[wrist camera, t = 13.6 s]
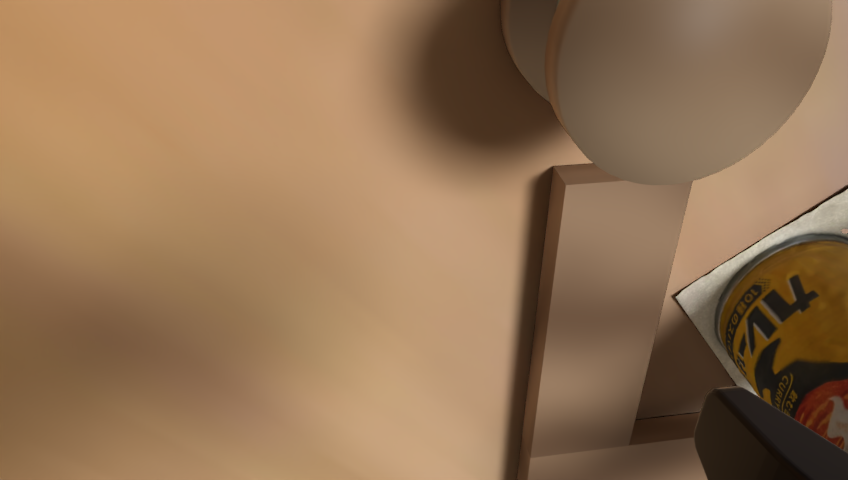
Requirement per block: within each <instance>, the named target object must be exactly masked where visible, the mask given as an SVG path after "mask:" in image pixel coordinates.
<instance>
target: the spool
mask: <svg viewBox="0 0 848 480" xmlns="http://www.w3.org/2000/svg"><path fill="white" fill-rule="evenodd" d="M500 19H501V27H502V33H503V37H504V41H505V44H506V47H507V49H508V52H509V54H510V56H511V58H512V60H513V62H514V63H515V65H516V67H517V68H518V70H519V71H520V72H521V73H522V75H523V76H524V77H525V79H526V80H527V81H528V82H529V84H530V85H531V86H532V87H533V88H534V90H535V91H536V92H537V93H538V94H540V95H541V96H542V97H543V98H544V99H545V100H547V101H548V102H550V103H551V105H552V107H553V110H554V112H555V115H556V117H557V118H558V120H559V122H560V123H561V125H562V127H563V128H564V129H565V131H566V132H567V133H568V135H569V136H570V137H571V139H572V140H573V141H574V142H575V144H576V145H577V146H578V148H579V149H580V150H581V151H582V152H583V153H584V155H585V156H586V157H587V158H588V159H589V160H590V161H592V162H593V163H594V164H595V165H596V166H597V167H599V168H601V169H602V170H604V171H605V172H607V173H609V174H610V175H613V176H615V177H618V178H620V179H622V180H626V181H630V182H634V183H637V184H646V185H672V184H680V183H686V182H690V181H694V180H698V179H701V178H704V177H707V176H709V175H712V174H715V173H717V172H719V171H721V170H723V169H725V168H728V167H730V166H732V165H733V164H735V163H737V162H738V161H740V160H742V159H743V158H745V157H746V156H748V155H749V154H751V153H752V152H753V151H755V150H756V149H757V148H759V147H760V146H761V145H763V144H764V143H765V142H766V141H767V140H768V139H769V138H770V137H771V136H773V135H774V134H775V133H776V132H777V131H778V130H779V129H780V127H781V126H782V125H783V124H784V123H785V122H786V121H787V120H788V119H789V117H790V116H791V115H792V114H793V112H794V111H795V110H796V108H797V107H798V106H799V105H800V103H801V101H802V100H803V98H804V97H805V95H806V94H807V92H808V90H809V89H810V87H811V85H812V83H813V81H814V79H815V77H816V75H817V73H818V71H819V68H820V66H821V63H822V60H823V58H824V55H825V52H826V48H827V44H828V40H829V36H830V29H831V22H832V0H501V1H500Z"/></svg>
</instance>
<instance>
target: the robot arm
mask: <svg viewBox="0 0 848 480" xmlns="http://www.w3.org/2000/svg"><path fill="white" fill-rule="evenodd" d="M694 444H695V448H696V451H697V454H698V456H699V459H700V462H701V464H702V467H703V469H704V472H705V474H706V477H707V480H848V453H847V452H846V451H844V450H843V449H841V448H839V447H838V446H836V445H835V444H833V443H831V442H830V441H828V440H827V439H825V438H823V437H822V436H820V435H819V434H817V433H815V432H814V431H812V430H811V429H809V428H808V427H806V426H804V425H803V424H801V423H800V422H798V421H796V420H795V419H793V418H792V417H790V416H788V415H787V414H785V413H784V412H782V411H780V410H779V409H777V408H776V407H774V406H772V405H771V404H769V403H768V402H766V401H764V400H763V399H761V398H760V397H758V396H756V395H755V394H753V393H752V392H750V391H748V390H747V389H745V388H743V387H739V386H731V387H721V388H714V389H711V390H710V391H709V392H708V393H707V394H706V396H705V399H704V402H703V405H702V409H701V412H700V415H699V418H698V421H697V424H696V427H695V431H694Z"/></svg>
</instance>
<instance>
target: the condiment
mask: <svg viewBox="0 0 848 480" xmlns="http://www.w3.org/2000/svg"><path fill="white" fill-rule="evenodd" d="M844 228H845V229H848V189H847V190H846V191H844V192H843V193H841V194H839V195H837V196H835V197H833V198H831V199H830V200H828V201H826V202H825V203H823V204H821V205H820V206H819V207H818V208H816V209H815V210H813V211H812V212H810V213H807V214H805V215H803V216H802V217H800V218H799V219H798V220H796V221H794V222H792V223H790V224H788V225H787V226H785V227H782V228H781V229H779V230H777V231H776V232H774V233H772V234H770V235H769V236H767V237H765V238H764V239H762V240H761V241H759V242H758V243H756V244H755V245H753V246H752V247H750V248H749V249H747V250H745V251H744V252H742V253H740V254H738V255H737V256H736V257H734V258H733V259H731V260H729V261H727V262H725V263H724V264H722V265H720V266H719V267H717V268H716V269H715V270H713V271H712V272H711V273H710V274H708V275H706V276H704V277H701V278H700V279H698V280H697V281H696V282H694V283H692V284H691V285H690V286H688V287H687V288H685V289H684V290H683V291H682V292H681V293H680V294H679V295H678V296H676V299H677V300H678V302H679V303H680V305H681V306H682V307H683V309H684V310H685V312H686V313H687V315H688V316H689V317H690V319H691V320H692V322H693V323H694V325H695V326H696V328H697V329H698V330H699V332H700V333H701V335H702V336H703V338H704V339H705V341H706V342H707V343H708V345H709V346H710V348H711V349H712V351H713V352H714V353H715V355H716V356H717V358H718V359H719V361H720V362H721V363H722V365H723V366H724V368H725V369H726V371H727V372H728V373H729V375H730V377H731V378H732V379H733V380H734V382H735V383H736V385H737V386H739V387H743V388H745V389H747V390H748V391H750V392H752V393H753V394H755V395H757V394H758V396H760V398H761V399H763V400H764V401H766V402H768V403H769V404H771V405H772V406H774V407H776V408H777V409H779V410H780V411H782V412H784V413H785V414H787V415H788V416H790V417H792V418H793V419H795V420H796V421H798V422H800V423H801V424H803V425H804V426H806V427H808V428H809V429H811V430H812V431H814V432H815V433H817V434H819V435H820V436H822V437H823V438H825V439H827V440H828V441H830V442H831V443H833V444H835V445H836V446H838V447H839V448H841V449H843V450H844V451H846V452H847V453H848V233H847V234H843V233H842V231H841V230H842V229H844Z"/></svg>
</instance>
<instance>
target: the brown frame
mask: <svg viewBox="0 0 848 480" xmlns="http://www.w3.org/2000/svg"><path fill="white" fill-rule="evenodd" d="M692 182H693V181H690V182H686V183H680V184H672V185H646V184H637V183H634V182H630V181H626V180H622V179H620V178H618V177H615V176H613V175H610V174H609V173H607V172H605V171H604V170H602V169H601V168H599V167H597V166H596V165H595V164H580V165H566V166H553V174H552V183H551V191H550V200H549V209H548V217H547V226H546V234H545V243H544V251H543V260H542V268H541V277H540V285H539V294H538V303H537V311H536V320H535V328H534V337H533V345H532V354H531V362H530V371H529V380H528V388H527V397H526V405H525V414H524V422H523V431H522V439H521V448H520V456H519V465H518V474H517V480H707V477H706V474H705V472H704V469H703V467H702V464H701V462H700V459H699V456H698V454H697V451H696V448H695V444H694V431H695V427H696V424H697V421H698V418H699V415H700V413H691V414H683V415H675V416H667V417H659V418H651V419H642V420H635V418H636V414H637V410H638V406H639V402H640V398H641V393H642V389H643V385H644V381H645V377H646V373H647V369H648V364H649V360H650V356H651V352H652V348H653V344H654V339H655V335H656V331H657V327H658V323H659V319H660V315H661V310H662V306H663V302H664V298H665V294H666V290H667V285H668V281H669V277H670V273H671V269H672V265H673V261H674V256H675V252H676V248H677V244H678V240H679V236H680V231H681V227H682V223H683V219H684V215H685V211H686V207H687V202H688V198H689V194H690V190H691V186H692Z"/></svg>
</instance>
